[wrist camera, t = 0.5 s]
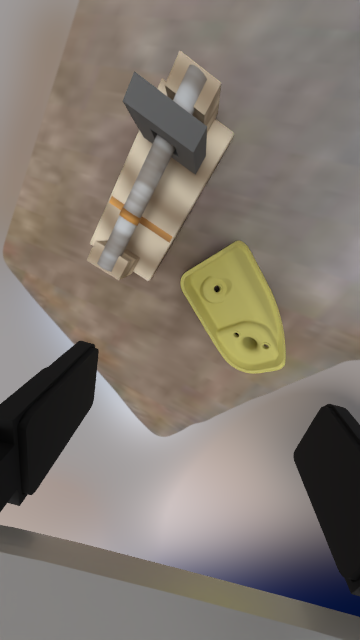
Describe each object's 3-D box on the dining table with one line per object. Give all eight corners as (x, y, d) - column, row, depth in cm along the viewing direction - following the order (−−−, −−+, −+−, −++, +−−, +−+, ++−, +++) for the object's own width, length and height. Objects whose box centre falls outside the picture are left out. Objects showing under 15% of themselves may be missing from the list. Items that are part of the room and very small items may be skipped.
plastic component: (174, 279, 35) (227, 246, 28) (195, 266, 40) (243, 236, 34) (233, 376, 38) (292, 368, 32) (245, 352, 44) (297, 341, 37)
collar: (152, 117, 27) (134, 71, 20) (205, 156, 28) (207, 126, 21) (143, 137, 28) (122, 101, 21) (195, 174, 29) (193, 152, 22)
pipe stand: (165, 81, 28) (152, 22, 21) (234, 134, 30) (246, 97, 22) (92, 246, 37) (63, 248, 29) (149, 282, 38) (135, 293, 30)
